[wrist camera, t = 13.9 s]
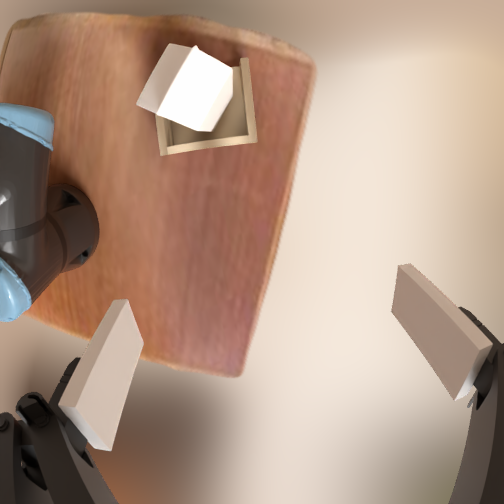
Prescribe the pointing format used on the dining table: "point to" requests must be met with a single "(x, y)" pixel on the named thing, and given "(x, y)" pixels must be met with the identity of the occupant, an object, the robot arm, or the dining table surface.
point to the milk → (188, 88)
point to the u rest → (228, 128)
